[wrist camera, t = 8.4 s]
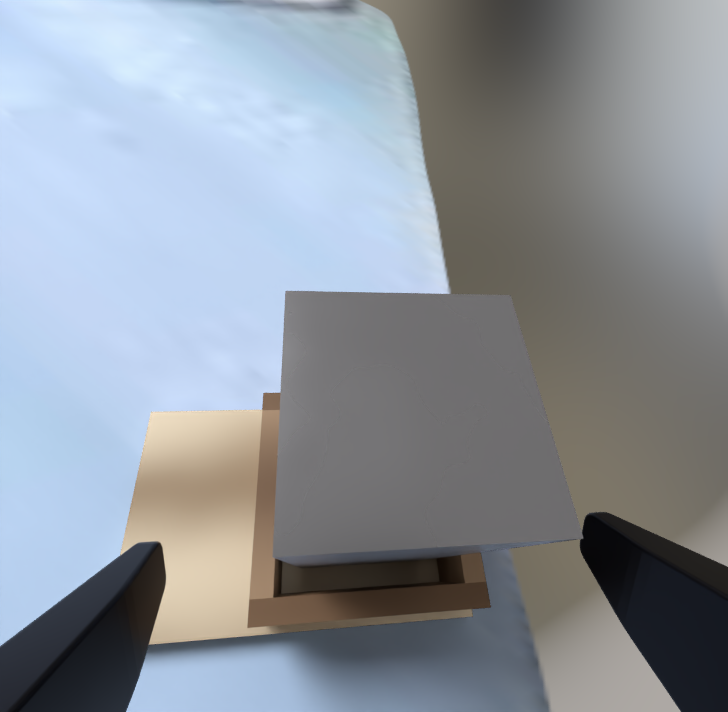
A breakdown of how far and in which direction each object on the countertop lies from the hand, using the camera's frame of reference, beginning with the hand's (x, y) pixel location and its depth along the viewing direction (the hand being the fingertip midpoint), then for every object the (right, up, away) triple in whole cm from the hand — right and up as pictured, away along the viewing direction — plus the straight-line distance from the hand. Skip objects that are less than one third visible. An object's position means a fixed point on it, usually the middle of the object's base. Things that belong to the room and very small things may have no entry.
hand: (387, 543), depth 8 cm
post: (-1, -2, +8) cm, 8 cm away
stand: (-3, -2, +8) cm, 9 cm away
